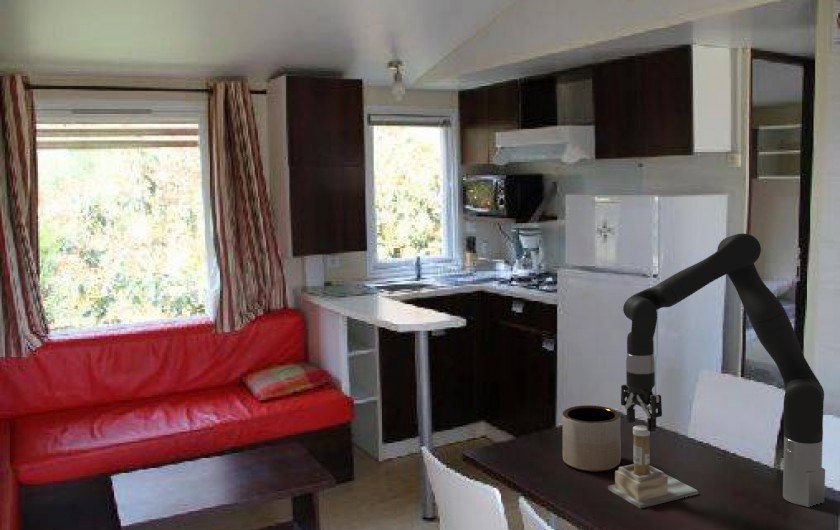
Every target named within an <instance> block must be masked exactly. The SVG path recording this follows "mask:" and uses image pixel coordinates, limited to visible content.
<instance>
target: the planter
mask: <svg viewBox="0 0 840 530" xmlns="http://www.w3.org/2000/svg"><path fill="white" fill-rule="evenodd" d="M621 438H622V437H621V413H620V412H619V411H618V410H615V409H613V408H611V407H606V406H602V405H592V404H591V405H587V404H585V405H576V406H570V407H567V408H566V409H564V411H562V460H563V462H564V463H565V464H566V465H568V466H569V467H571V468H574V469H577V470H580V471H583V472H584V471H585V472H605V471H609V470H613V469H614V468H616V467H618V466H619V465H620V463H621V460H622V447H621V442H622V441H621V440H622V439H621Z"/></svg>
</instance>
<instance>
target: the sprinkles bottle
mask: <svg viewBox="0 0 840 530" xmlns="http://www.w3.org/2000/svg"><path fill="white" fill-rule="evenodd" d="M632 435H633V444H632V445H633V453H632V454H633V457H632V458H633V460H632V461H633V464H634V471H633V473H634V474H635V475H637V476H644V475H648V474H650V464H651V463H650V461H651V460H650V457H651V456H650V455H651V453H650V447H651V446H650V435H651V432H650V431H648V430H647V425H644V424H643V425H642V424H640V425H639V424H638V425H636V424H635V425H634V426H632Z"/></svg>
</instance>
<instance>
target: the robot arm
mask: <svg viewBox="0 0 840 530" xmlns="http://www.w3.org/2000/svg"><path fill="white" fill-rule="evenodd" d="M716 250H717V251H716V252H714V253H712V254H711V255H709V256H707V257H706V258H704V259H702V260H701V261H699V262H697V263H695V264H692V265H690V266H688V267H686V268H685V269H684V268H683V269H682V270H679V271H678V272H675V273H674V274H673V275H671V276H669V277H668V278H667V277H666V279H665V280H663V281H660V282H659V283H658V284H655V285H654V286H651V287H648V288H646V289H643V290H642V291H639V292H636V293H635V294H633V295H631V296H629V297H628V298H627V299H626V301H625V302H624V303H623V306H622V307H623V309H622V312H623V313H624V316H626V318H627V319H629V321H631V329H630V331H629V333H628V334H627V337H626V360H625V363H626V364H625V365H626V366H625V367H626V369H625V371H626V372H625V375H626V376H625V377H626V384H622V385H621V387H620V388H621V389H620V390H621V391H620V405H621V406H624V409H625V410H626V422H627V423H629V424H631V423H635V422H636V409H635V408H636V406H639V407H641V408H642V411H643V412H645V415H646V416H647V417H646V418H647V419H646V420H647V423H646V424H647V425H646V426H647V430H648V431H650V433H651V432H655V431H656V430H657V418H660V417H662V416H663V407H662V395H661V394H654V392H653V389H654V387H655V385H656V376H655V375H656V365H655V364H656V362H655V354H654V352H655V351H654V350H655V349H654V346H655V345H654V336H655V333H656V328H657V322H658V310H660V309H663V308H670V307H672V306H673V307H674V306H675V305H676V304H679V303H680V302H682V301H683V300H685V299H687V298H688V297H690V296H692V295H693V294H694V293H696V292H698V291H699V290H701V289H703V288H705V287H706V286H707V285H710V283H712V282H714V281H716V280H718V279H720V278H722V277H723V276H726V275H727V277H729V279H730V281H731V282H732V284H733V286H734V288H735V290H736V291H737V294H738V295H737V296H738V297H739V299H740V301H741V304H742V306H743V309H744V311H745V312H746V314H747V317H748V319H749V321H750V324H751V327H752V329H753V330H754V333H755V335H756V337H757V339H758V340H759V342H760V344H761V345H762V347H763V348H764V350H765V352H767V354H768V355H769V356H770V357H771V359H772V360H773V361H774V362H775V364H776V367H777V368H778V370H779V373H780V376H781V379H782V382H783V384H784V387H785V392H784V398H783V432H784V433H783V468H782V469H783V470H782V473H783V475H782V477H783V478H782V498H783V499H784V500H786V501H787V502H790V503H792V504H793V505H798V506H803V507H806V508H810V506H811V507H814V506H813V505H815V506H817V505H816V504H818V505H821V504H820V503H822V504H824V503H825V491H826V490H825V489H826V487H825V486H826V469H825V468H824V467H823V439H824V424H823V423H824V401H825V390H824V388H823V386H822V384H821V382H820V380H818V378H817V376H816V374H815V373H814V371H813V369H812V368H811V366H810V365H809V363H808V361H807V359H806V358H805V356H804V354H803V351H802V347H801V344H800V341H799V339H798V337H797V334H796V333H795V330H794V327H793V324H792V322H791V320H790V317H789V315H788V314H787V312H786V308H784V306H783V304H782V303H781V301H780V300H779V299H778V298H777V297H776V295H775V294H774V293H773V291H772V290H771V289H769V288H768V286H767V285H766V284H765V282H764V281H763V280H762V278H761V276H760V274H759V272H758V270H757V267H756V265H755V263H756V262H757V261H758V260H759V258H760V256H761V253H762V247H761V243H760V242H759V240H758V238H756V237H755V236H753V235H752V234H749V233H736V234H733V235H729V236H728V237H725V238H724V239H722V240H721V241H720V242H719V244H718V246H717V249H716Z"/></svg>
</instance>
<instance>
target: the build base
mask: <svg viewBox="0 0 840 530" xmlns="http://www.w3.org/2000/svg"><path fill="white" fill-rule="evenodd" d="M633 471H634V463H632V464H628V465H622V466H619V467H618V469H617V470H615V471H614V484H610V485H608V486H607V490H609V491H610V492H611V493H612V494H615V495H617V497H620V498H622V499H623V500H625V501H626V502H629V503H631V505H634V506H635V507H636V508H638V509H644V508H648V507H652V506H655V505H660V504H664V503H667V502H671V501H676V500H680V499H684V497H685V498H688V496H689V497H692V496H695V495H699V490H697V489H696V488H694V487H692V486H691V485H688V484H686V483H684V482H682V481H680V480H678V479H676V478H674V477H672V476H671V475H668V474H666V473H665V472H664V471H662V470H660V469H658V468H656V467H654V466H652V465H650V474H648V475H644V476H637V475H635V474H634V473H633Z"/></svg>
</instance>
